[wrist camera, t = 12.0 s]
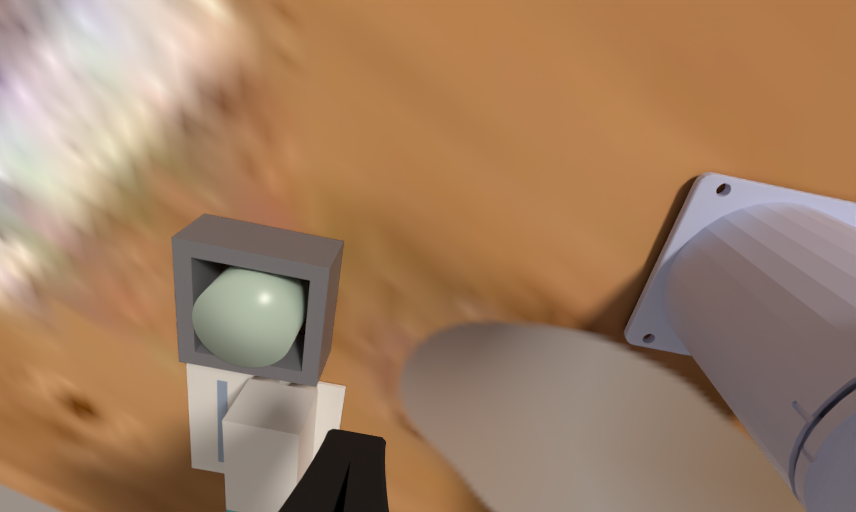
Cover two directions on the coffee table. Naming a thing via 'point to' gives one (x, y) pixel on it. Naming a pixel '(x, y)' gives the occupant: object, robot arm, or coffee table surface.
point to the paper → (214, 399)
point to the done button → (251, 315)
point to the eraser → (267, 443)
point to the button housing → (263, 251)
